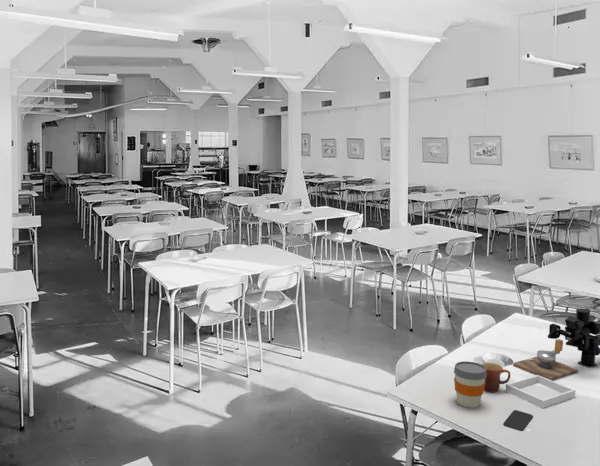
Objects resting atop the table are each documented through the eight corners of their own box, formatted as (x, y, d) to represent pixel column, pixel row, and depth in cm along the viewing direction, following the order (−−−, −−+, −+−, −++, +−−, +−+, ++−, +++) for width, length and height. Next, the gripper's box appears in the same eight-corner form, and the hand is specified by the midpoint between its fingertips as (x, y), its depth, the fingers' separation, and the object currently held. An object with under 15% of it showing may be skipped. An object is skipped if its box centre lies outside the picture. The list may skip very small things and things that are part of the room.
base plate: (539, 358, 270) (540, 349, 270) (577, 372, 253) (578, 363, 252) (513, 365, 260) (513, 356, 259) (550, 381, 243) (551, 371, 242)
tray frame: (536, 381, 243) (537, 374, 242) (574, 397, 228) (575, 390, 227) (505, 390, 232) (505, 384, 232) (542, 408, 217) (543, 401, 216)
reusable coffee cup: (480, 412, 212) (482, 376, 210) (448, 404, 219) (450, 368, 217) (487, 400, 223) (490, 365, 221) (457, 392, 229) (459, 358, 227)
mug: (479, 391, 231) (480, 368, 229) (479, 383, 239) (481, 361, 238) (509, 396, 227) (511, 373, 225) (508, 388, 235) (510, 365, 234)
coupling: (551, 353, 264) (553, 337, 263) (567, 358, 258) (568, 342, 256) (532, 358, 257) (534, 341, 256) (548, 364, 250) (549, 347, 249)
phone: (502, 424, 203) (514, 409, 214) (501, 426, 203) (513, 411, 215) (522, 430, 198) (533, 415, 210) (522, 432, 198) (533, 417, 210)
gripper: (561, 310, 263) (539, 317, 255) (598, 322, 247) (576, 330, 239) (560, 331, 265) (538, 339, 258) (596, 345, 249) (575, 353, 242)
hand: (556, 340), depth 249 cm, fingers open, 9 cm apart
